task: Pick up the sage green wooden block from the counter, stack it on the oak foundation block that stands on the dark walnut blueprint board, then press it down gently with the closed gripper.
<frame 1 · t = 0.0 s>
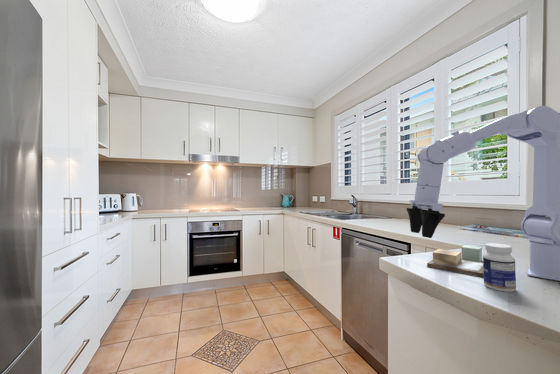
hand: (420, 234, 69), 11 cm above the worktop, tool pointing down, fingers open, 7 cm apart
blueprint board: (460, 267, 74), on the worktop
sage block: (472, 260, 80), on the worktop
pill bottle: (499, 288, 58), on the worktop
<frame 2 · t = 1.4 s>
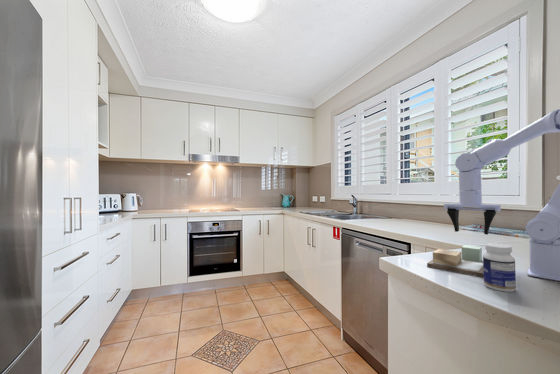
hand: (471, 232, 81), 9 cm above the worktop, tool pointing down, fingers open, 7 cm apart
nothing on the worktop moved.
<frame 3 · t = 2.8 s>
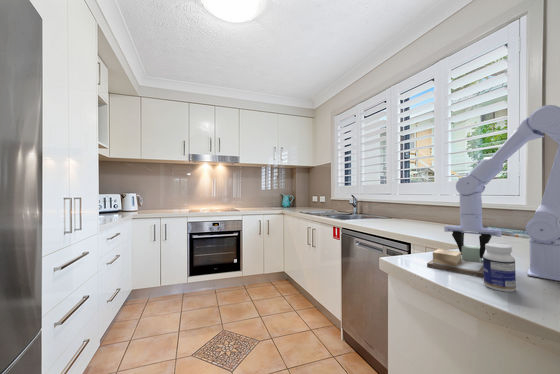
hand: (471, 256, 80), 1 cm above the worktop, tool pointing down, fingers closed on sage block, 4 cm apart
sage block: (471, 260, 80), on the worktop, touching gripper
everything else where it was.
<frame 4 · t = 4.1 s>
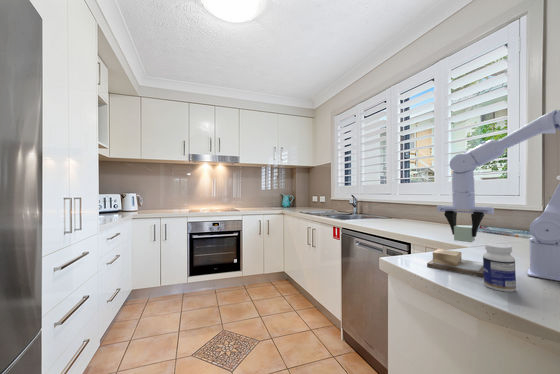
hand: (464, 235, 79), 8 cm above the worktop, tool pointing down, fingers closed on sage block, 4 cm apart
sage block: (464, 240, 79), point 7 cm above the worktop, touching gripper
everything else where it was.
when the fingers open (6 cm above the worktop, at t = 5.5 s): sage block stays where it is, resting on blueprint board.
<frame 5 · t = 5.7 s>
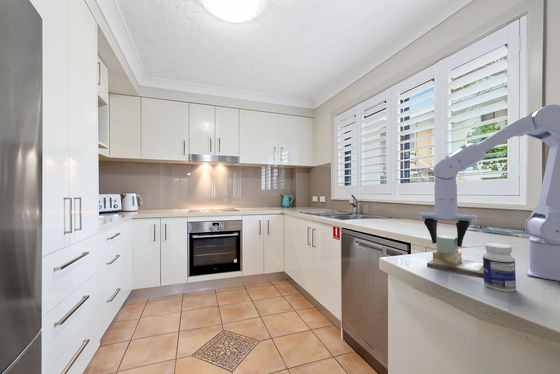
hand: (446, 244, 75), 6 cm above the worktop, tool pointing down, fingers open, 6 cm apart
sage block: (447, 252, 75), point 4 cm above the worktop, touching blueprint board
everything else where it was.
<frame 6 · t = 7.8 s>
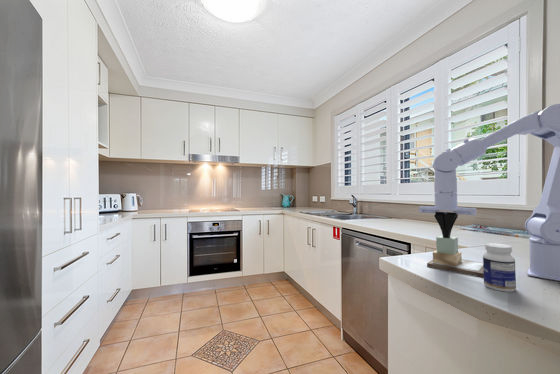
hand: (446, 237, 75), 8 cm above the worktop, tool pointing down, fingers closed, pressing on sage block
sage block: (447, 252, 75), point 4 cm above the worktop, touching blueprint board, gripper
everything else where it was.
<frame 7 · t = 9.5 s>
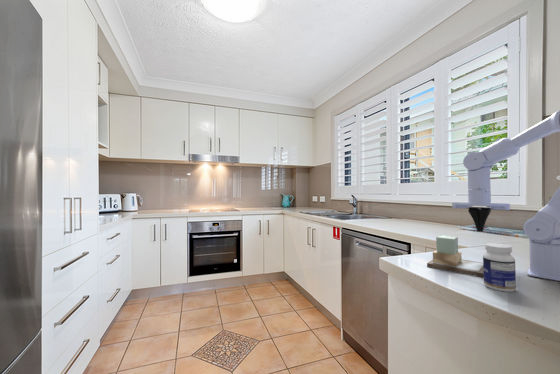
hand: (480, 231, 80), 9 cm above the worktop, tool pointing down, fingers closed
sage block: (447, 252, 75), point 4 cm above the worktop, touching blueprint board
everything else where it was.
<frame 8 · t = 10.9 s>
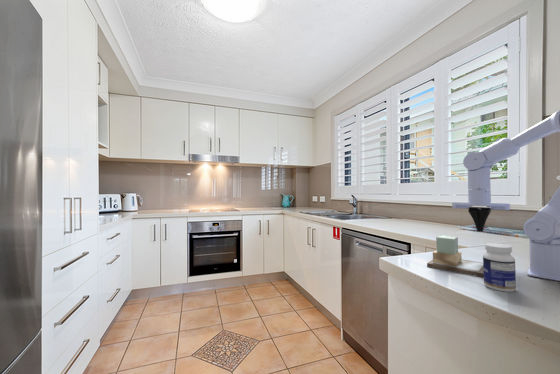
hand: (480, 231, 80), 9 cm above the worktop, tool pointing down, fingers closed
nothing on the worktop moved.
at the end: sage block 0.3 cm from the target spot on the blueprint board, point 4.1 cm above the blueprint board's base; sage block tilted 0°; the gripper is holding nothing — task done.
